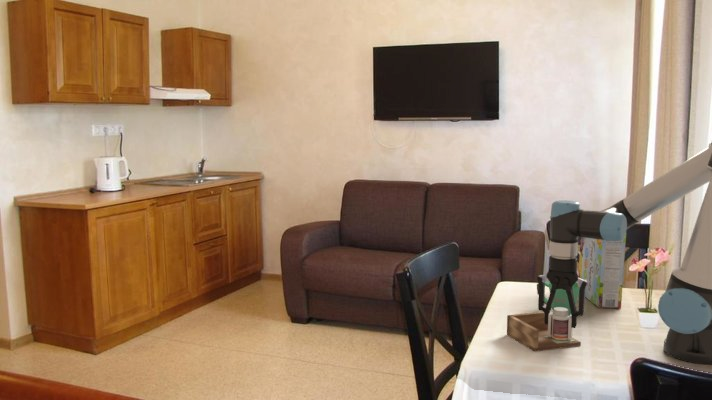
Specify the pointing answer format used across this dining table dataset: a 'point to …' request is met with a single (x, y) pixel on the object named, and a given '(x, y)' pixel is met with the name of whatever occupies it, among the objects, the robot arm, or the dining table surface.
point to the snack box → (602, 270)
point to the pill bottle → (560, 323)
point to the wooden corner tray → (535, 332)
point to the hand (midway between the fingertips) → (559, 336)
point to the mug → (561, 296)
